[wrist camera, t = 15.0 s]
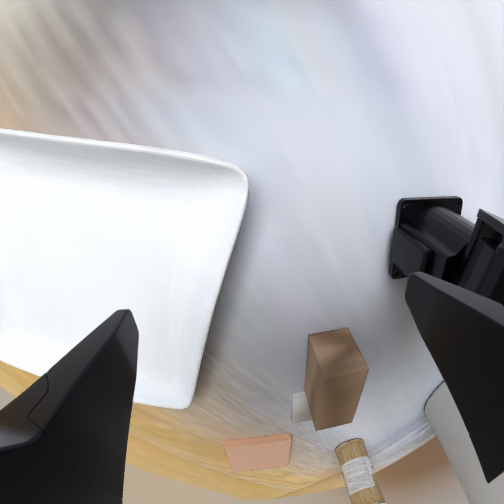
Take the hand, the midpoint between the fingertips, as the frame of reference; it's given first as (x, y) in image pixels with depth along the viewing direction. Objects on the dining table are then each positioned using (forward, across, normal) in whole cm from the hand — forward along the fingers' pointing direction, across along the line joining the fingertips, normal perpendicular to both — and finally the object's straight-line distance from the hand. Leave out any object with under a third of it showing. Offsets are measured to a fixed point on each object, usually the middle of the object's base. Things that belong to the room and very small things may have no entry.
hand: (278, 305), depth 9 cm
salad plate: (+12, +13, +4) cm, 18 cm away
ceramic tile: (+11, +1, +29) cm, 31 cm away
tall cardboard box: (+11, -6, +19) cm, 22 cm away
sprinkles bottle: (+11, -12, +37) cm, 40 cm away
